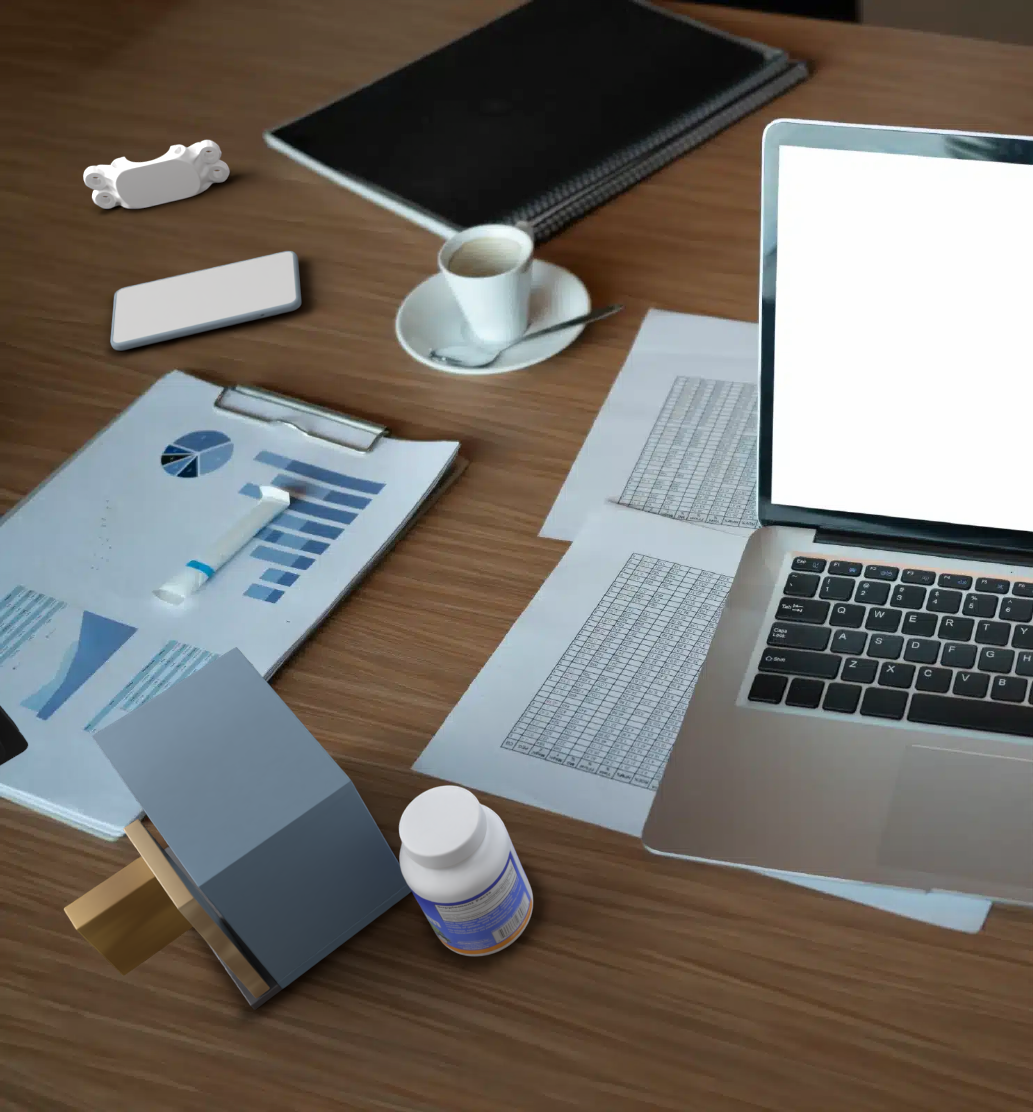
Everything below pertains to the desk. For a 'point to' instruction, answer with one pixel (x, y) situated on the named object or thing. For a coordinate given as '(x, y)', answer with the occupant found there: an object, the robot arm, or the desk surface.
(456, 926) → the pill bottle
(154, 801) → the grey-blue hollow box
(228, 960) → the tan piece
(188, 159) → the curved bracket
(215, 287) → the smartphone
